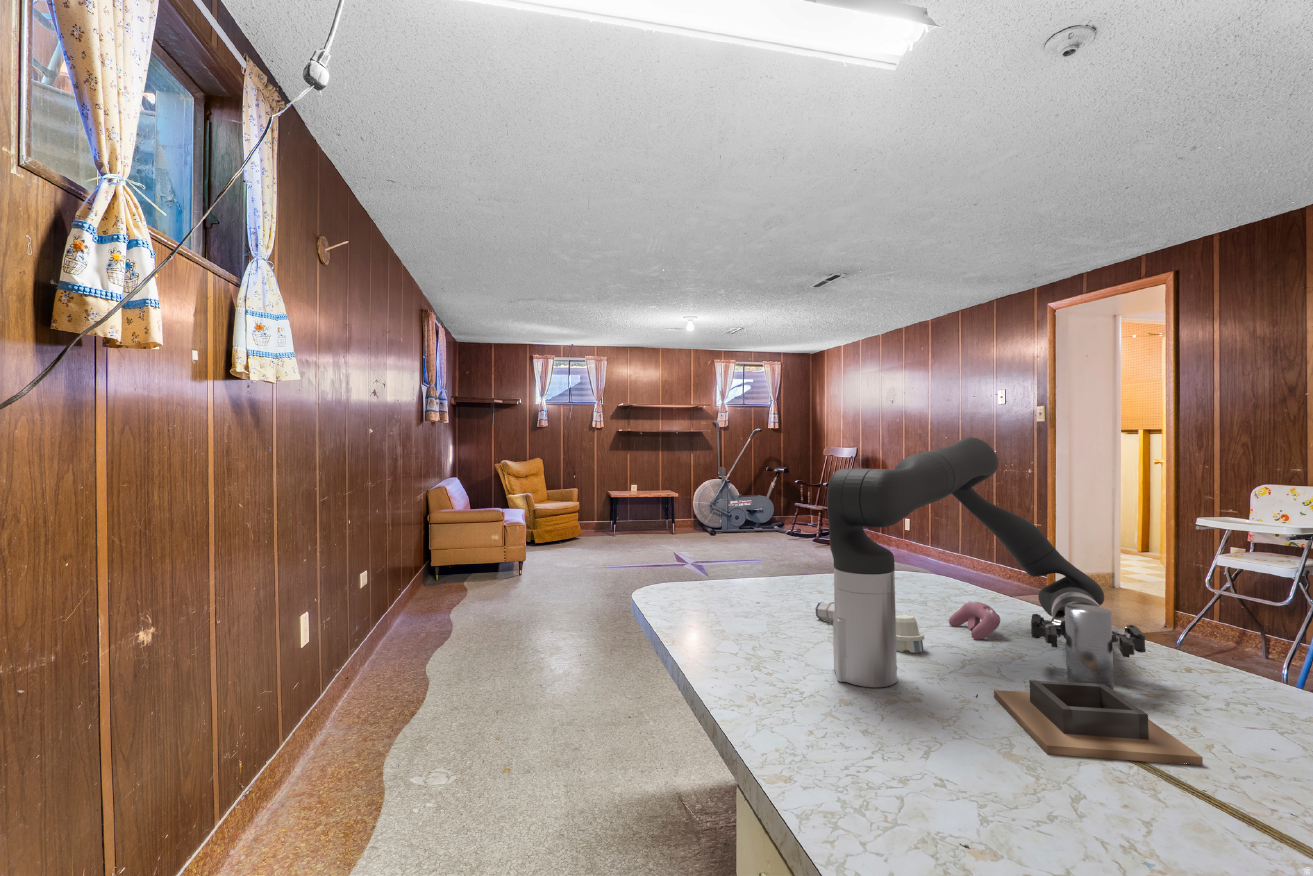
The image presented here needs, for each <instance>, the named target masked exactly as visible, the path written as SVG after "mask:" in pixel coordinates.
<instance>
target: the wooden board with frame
mask: <svg viewBox="0 0 1313 876" xmlns="http://www.w3.org/2000/svg"><path fill="white" fill-rule="evenodd" d="M993 698H994V699H995V700H996V701H997V702H998V703H999V704H1000V705H1001V706H1002V708H1003V709H1005V710H1006V712H1007V713H1008V714H1009V715H1010V716H1011V717H1012V718H1013V719H1014V720H1015V722H1017V723H1018V724H1019V725H1020V727H1021V728H1022V729H1023V730H1024V731H1025V732H1026V734H1028V735H1029V736H1030V737H1031V739H1033V740H1034V741H1035V743H1036V744H1037V745H1038V746H1039V747H1040V748H1041V749H1042V751H1044V752H1045V754H1046V755H1055V756H1071V757H1084V758H1095V759H1096V758H1097V759H1109V760H1121V761H1122V760H1123V761H1137V762H1149V763H1162V764H1163V763H1164V764H1173V763H1183V764H1182V765H1186V763H1187V764H1191V765H1190V766H1199V765H1203V766H1204V764H1203V763H1204V762H1203V760H1204V758H1203V756H1202V755H1201V754H1199V753H1198V752H1197V751H1195V750H1193V749H1192V748H1191V747H1189V746H1188V745H1186V744H1185V743H1183V742H1182V741H1180V740H1179V739H1178V738H1177V737H1175V736H1173V735H1172V734H1170V733H1169V732H1168V731H1166V730H1165V729H1163V728H1162V727H1160V726H1159V725H1157V724H1156V723H1155V722H1153V721H1152V720H1150V719H1149V714H1148V713H1146V712H1145V711H1144V710H1142V709H1141V708H1139V707H1138V706H1136V704H1133V703H1132V702H1130V701H1129V700H1127V699H1126V698H1125V697H1123V696H1121V695H1120V694H1119V693H1117V692H1116V691H1115V690H1114V691H1113V690H1112V689H1110V688H1109V687H1107V686H1106V685H1104V684H1093V683H1075V682H1067V681H1058V680H1057V681H1055V680H1054V681H1053V680H1037V679H1036V680H1035V679H1034V680H1033V679H1030V680H1029V691H1016V690H1015V691H1012V690H1001V689H1000V690H997V689H996V690H995V689H993ZM1166 762H1167V763H1166ZM1184 763H1185V764H1184ZM1192 764H1193V765H1192Z"/></svg>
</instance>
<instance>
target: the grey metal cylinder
mask: <svg viewBox="0 0 1313 876" xmlns="http://www.w3.org/2000/svg"><path fill="white" fill-rule="evenodd" d="M1112 616H1113V615H1112V611H1111V610H1110V609H1108V608H1104V607H1101V606H1100V607H1097V606H1091V605H1082V604H1070V605H1066V606H1065V628H1066V642H1065V653H1066V655H1065V657H1066V662H1065V663H1066V682H1075V683H1093V684H1104V685H1106V686H1107V687H1109V688H1110V689H1112V690H1113V691H1115V690H1114V689H1115V687H1114V686H1115V685H1114V684H1115V683H1114V655H1113V654H1114V653H1113V651H1114V649H1113V647H1112V625H1113V622H1112V621H1113V617H1112Z"/></svg>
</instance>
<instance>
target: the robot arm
mask: <svg viewBox="0 0 1313 876" xmlns="http://www.w3.org/2000/svg"><path fill="white" fill-rule="evenodd" d="M991 446H992V445H989V444H988V443H987V442H985V441H984V440H983V439H980V438H977V437H973V436H970V437H969V436H967V437H965V438H962V439H960V440H959V441H957V442H955V443H954V444H952V445H949V446H946V447H941V448H936V449H933V450H929V451H923V452H920V453H916V454H912V455H909V456H907V457H905V458H903V459H902V460H900V461H899V462H898V463H897V465H896V466H895V467H894V469H887V468H840V469H838V470H836V471H834V472H833V474H832V475H831V477H830V479H829V481H828V485H827V491H826V509H827V521H828V535H829V537H828V538H829V547H830V552H831V554H832V559H833V589H834V590H833V591H834V592H833V594H834V595H833V596H834V599H833V600H834V601H833V602H834V605H835V610H834V611H833V624H832V633H833V635H832V636H833V637H832V638H833V670H834V672H835V675H836V679H837V681H838V682H841V683H849V684H851V685H855V686H859V687H865V688H884V687H885V688H886V687H889V686H892V685H894V684H895V683H897V682H898V664H897V661H898V660H897V651H896V616H897V615H896V579H895V578H896V577H895V576H896V574H895V569H896V568H895V556H894V553H893V552H892V551H891V550H890V549H888V548H886V547H884V546H882V545H881V544H878V543H877V542H875V541H874V540H872V539H871V538H870V537H869V536H868V535H867V534H866V532H865V530H864V527H867V528H888V527H891V526H894V525H896V524H897V523H899V522H901V521H902V520H903V519H905V518H906V517H907V516H909V515H910V514H912V513H913V512H914V511H916V510H918V509H921V508H923V507H925V506H928V505H930V504H933V503H936V502H939V501H940V500H943V499H945V498H946V497H948V496H950V495H952V496H953V497H954V498H955V499H956V500H958V502H960V504H962V505H963V506H964V508H966V509H967V510H968V511H969V512H970V513H971V514H972V515H973V516H974V517H975V518H977V520H979V522H981V523H982V525H984V526H985V527H986V528H987V529H988V530H990V532H991V533H993V535H994V536H995V537H996V538H997V539H998V540H999V541H1000V542H1001V543H1002V545H1003V546H1004V547H1005V548H1006V549H1007V551H1008V552H1009V553H1010V554H1011V556H1012V557H1013V559H1015V561H1016V562H1017V563H1018V564H1019V566H1020V567H1021V568H1022V569H1023V570H1024V572H1025V573H1027V575H1029V576H1030V577H1033V578H1037V577H1038V578H1039V577H1043V576H1046V575H1051V574H1057V575H1061V576H1064V577H1062V578H1059V579H1058V580H1056V581H1054V582H1052V583H1050V584H1048V585H1046V586H1044V587H1043V588H1042V589H1041V590H1040V591H1039V592H1038V601H1039V603H1040V606H1041V608H1042V609H1043V610H1044V612H1046V614H1047V615H1049V616H1050V617H1051V620H1046V619H1045V618H1044V616H1041V614H1038V613H1033V614H1031V620H1030V627H1031V628H1030V631H1031V633H1030V635H1031V638H1033V639H1037V640H1038V639H1041V637H1043V638H1044V639H1045V643H1046V644H1049V645H1051V647H1052V648H1058V642H1059V643H1066V628H1065V606H1066V605H1070V604H1082V605H1091V606H1097V607H1101V606H1102V605H1103V603H1104V601H1105V594H1104V590H1103V589H1102V587H1101V585H1099V583H1098V582H1097V581H1096V580H1094V579H1093V578H1091V577H1090V576H1089V575H1087V574H1086V573H1085V572H1084V571H1081V570H1080V569H1079V568H1077V567H1076V566H1075V565H1073V564H1072V563H1071V562H1069V561H1068V560H1067V559H1066V558H1065V557H1064V556H1063V555H1061V553H1060V552H1059V551H1058V550H1057V549H1056V548H1055V546H1054V545H1053V544H1052V543H1051V542H1050V541H1049V539H1048V538H1047V537H1046V536H1045V534H1044V533H1043V532H1042V531H1041V530H1040V529H1039V528H1038V527H1037V526H1036V525H1035V524H1033V523H1032V522H1030V521H1029V520H1028V519H1026V518H1024V517H1022V516H1020V515H1018V514H1015V513H1013V512H1011V511H1008V510H1006V509H1004V508H1003V507H999V506H997V505H995V504H994V503H992V502H990V501H988V500H986V499H985V498H984V497H983V496H981V494H979V493H978V492H977V491H976V490H975V489H974V488H973V487H975V486H976V485H979V484H980V483H982V482H984V481H985V480H987V479H990V477H992V476H993V475H995V473H997V470H998V468H999V459H998V455H997V454H996V453H997V452H995V450H994V448H993V447H991ZM1112 647H1113V650H1116V649H1117V650H1119V652H1120V654H1121V656H1122V657H1123V658H1131V657H1130V656H1134V655H1135V652H1138V653H1139V654H1140V653H1142V654H1143V653H1146V652H1147V651H1146V635H1145V634H1144V632H1142V631H1141V630H1140V628H1139V627H1137V625H1134V624H1127V625H1126V626H1124V628H1118V626H1116V625H1113V624H1112Z"/></svg>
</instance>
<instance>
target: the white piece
mask: <svg viewBox="0 0 1313 876" xmlns="http://www.w3.org/2000/svg"><path fill="white" fill-rule="evenodd" d="M834 610H835V605H834V601H831V602H828V601H821V602H818V603H817V604H816V607H815V616H816V617H817V618H818V620H821V621H824V620H825V621H824V622H828V623H829V624H832V625H833V611H834ZM924 640H925V634H924V633H922V632H920V631H919V627H918V621H917V620H916V618H915V616H912V615H903V614H901V615H896V652H902V653H903V652H905V651H909V653H920V652H923V651H924V643H923V642H924Z"/></svg>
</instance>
